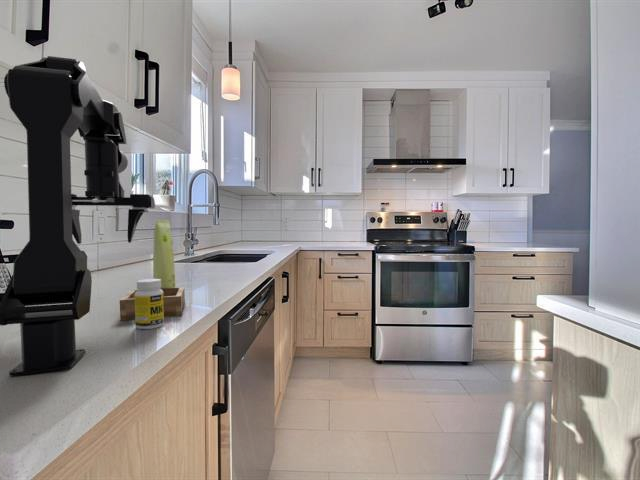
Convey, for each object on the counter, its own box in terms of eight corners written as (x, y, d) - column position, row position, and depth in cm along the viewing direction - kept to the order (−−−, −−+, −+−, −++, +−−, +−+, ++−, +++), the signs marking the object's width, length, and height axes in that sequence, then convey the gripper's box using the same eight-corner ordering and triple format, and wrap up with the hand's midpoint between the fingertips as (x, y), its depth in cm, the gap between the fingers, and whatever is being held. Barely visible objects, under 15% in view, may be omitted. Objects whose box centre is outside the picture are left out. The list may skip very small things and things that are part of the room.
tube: (180, 301, 84) (178, 219, 83) (158, 305, 80) (155, 219, 79) (171, 297, 88) (168, 219, 87) (149, 301, 84) (147, 220, 84)
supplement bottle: (152, 330, 61) (151, 282, 61) (129, 329, 62) (127, 282, 62) (169, 322, 66) (168, 278, 66) (147, 321, 67) (146, 277, 67)
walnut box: (181, 315, 71) (181, 296, 71) (120, 320, 68) (119, 300, 67) (184, 303, 81) (184, 286, 81) (132, 307, 78) (131, 289, 78)
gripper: (157, 174, 83) (159, 240, 84) (64, 171, 77) (67, 242, 78) (149, 167, 72) (152, 242, 73) (41, 163, 67) (45, 245, 67)
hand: (105, 243), depth 73 cm, fingers open, 9 cm apart
